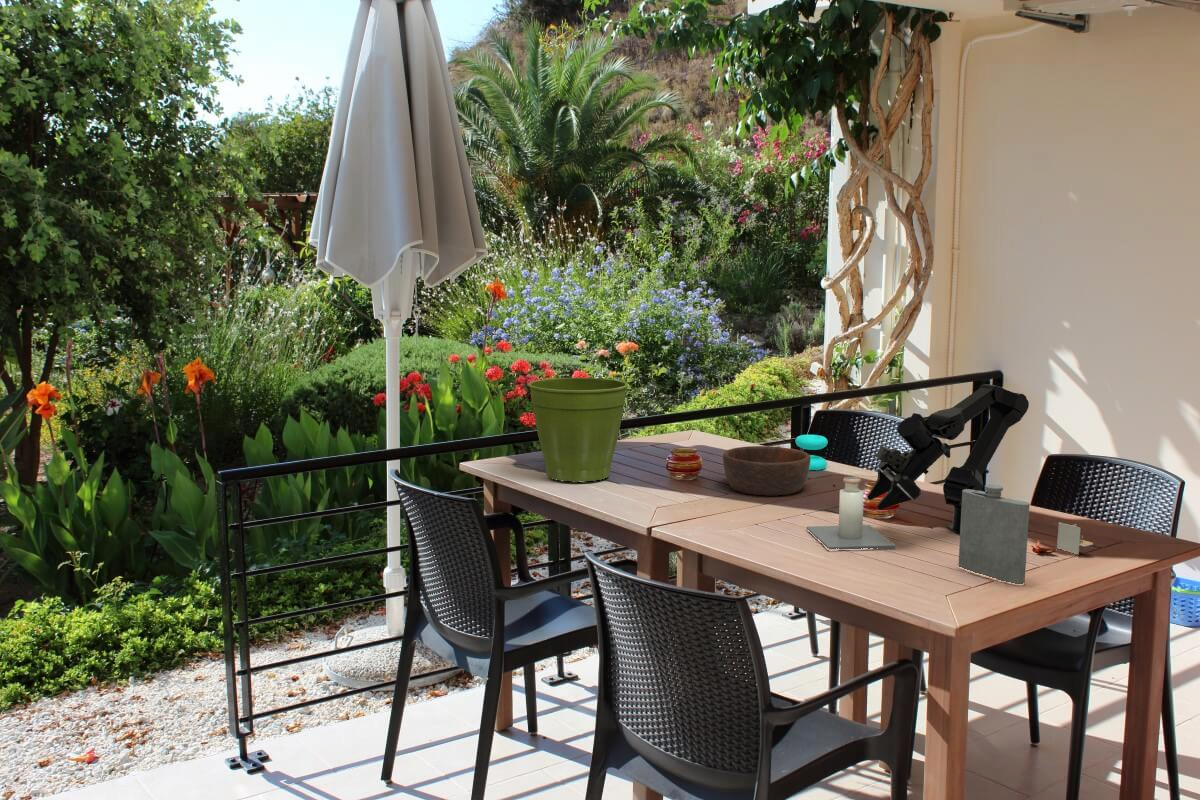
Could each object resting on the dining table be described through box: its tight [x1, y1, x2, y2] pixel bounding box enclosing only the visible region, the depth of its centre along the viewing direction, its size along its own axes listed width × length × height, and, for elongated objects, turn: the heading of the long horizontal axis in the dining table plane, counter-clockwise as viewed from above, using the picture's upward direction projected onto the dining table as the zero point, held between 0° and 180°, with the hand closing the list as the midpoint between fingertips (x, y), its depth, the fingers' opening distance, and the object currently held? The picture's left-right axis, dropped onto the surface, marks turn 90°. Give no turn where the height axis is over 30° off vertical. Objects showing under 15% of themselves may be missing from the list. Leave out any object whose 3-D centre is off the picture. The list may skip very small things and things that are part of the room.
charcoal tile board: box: [806, 524, 897, 550], centre depth 260 cm, size 18×16×1 cm
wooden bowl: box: [722, 445, 811, 497], centre depth 312 cm, size 25×25×10 cm
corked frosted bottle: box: [838, 476, 865, 539], centre depth 259 cm, size 6×6×14 cm
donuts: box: [794, 434, 829, 471], centre depth 340 cm, size 10×10×10 cm
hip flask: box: [958, 484, 1030, 584], centre depth 231 cm, size 16×4×20 cm, turn 34°
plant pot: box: [528, 377, 629, 483], centre depth 325 cm, size 30×30×29 cm
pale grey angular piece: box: [1056, 521, 1094, 556], centre depth 249 cm, size 3×7×7 cm, turn 31°
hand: (873, 503), depth 259 cm, fingers open, 9 cm apart
